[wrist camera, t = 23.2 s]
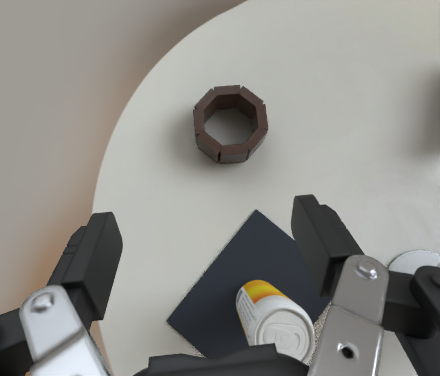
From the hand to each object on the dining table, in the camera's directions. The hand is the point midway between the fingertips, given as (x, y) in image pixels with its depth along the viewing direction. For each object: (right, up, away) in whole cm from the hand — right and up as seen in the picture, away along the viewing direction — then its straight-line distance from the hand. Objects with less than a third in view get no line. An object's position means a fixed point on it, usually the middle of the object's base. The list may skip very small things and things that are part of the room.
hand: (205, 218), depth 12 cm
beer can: (+6, -15, +26) cm, 31 cm away
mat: (+6, -14, +27) cm, 31 cm away
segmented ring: (+2, +10, +31) cm, 33 cm away
